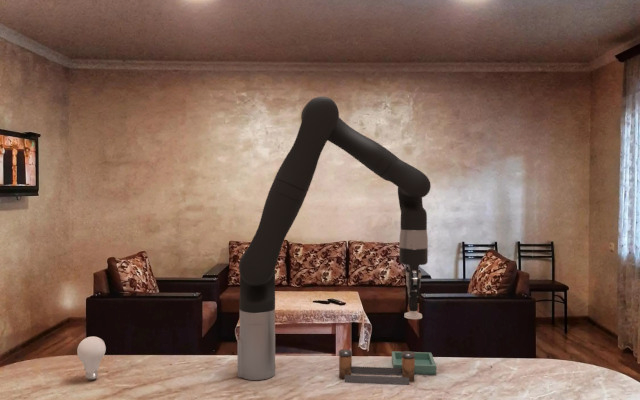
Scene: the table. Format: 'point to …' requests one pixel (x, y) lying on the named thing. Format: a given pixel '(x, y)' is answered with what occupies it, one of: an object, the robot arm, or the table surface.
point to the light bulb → (91, 355)
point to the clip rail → (376, 370)
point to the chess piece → (413, 313)
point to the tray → (417, 362)
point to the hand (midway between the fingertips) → (413, 309)
